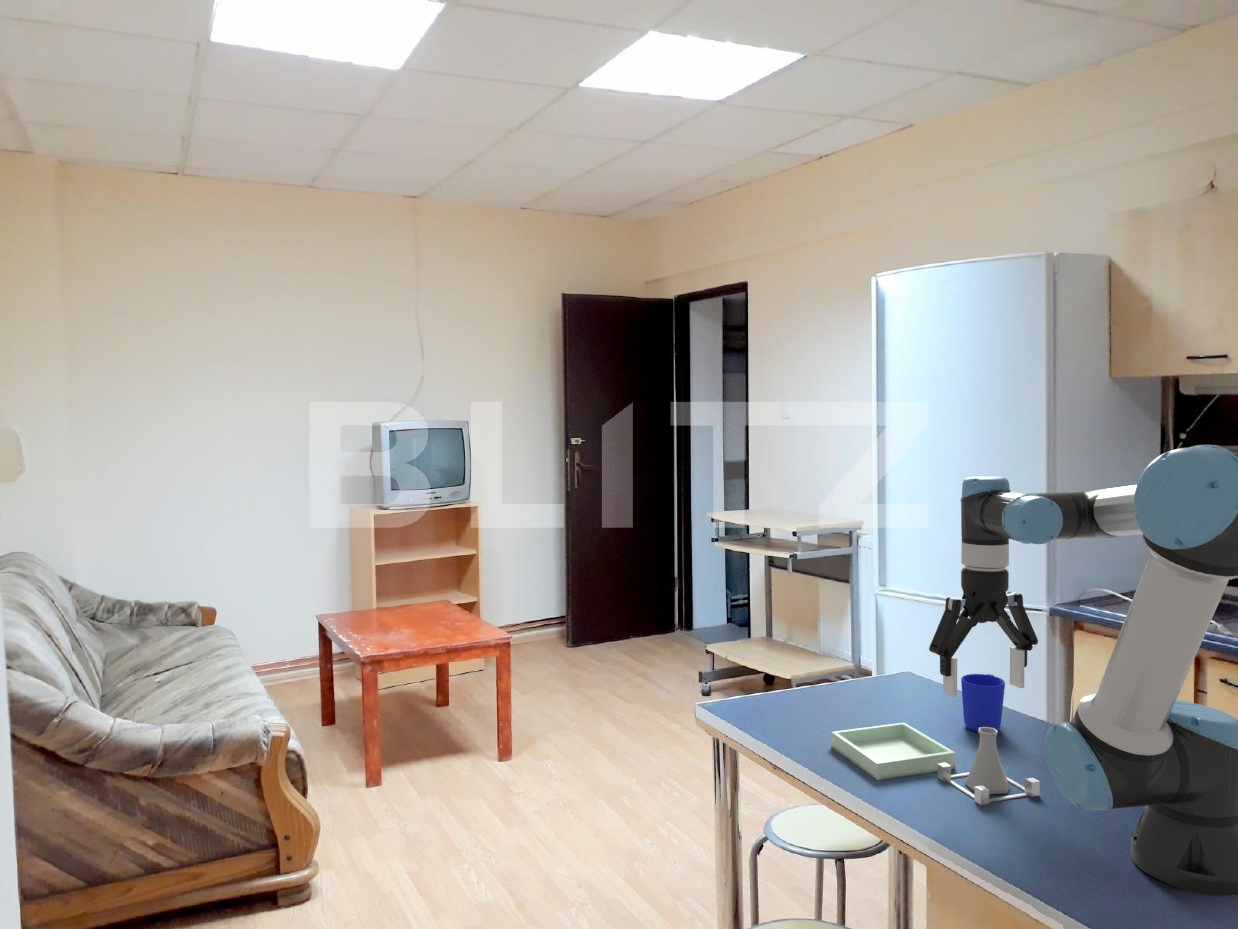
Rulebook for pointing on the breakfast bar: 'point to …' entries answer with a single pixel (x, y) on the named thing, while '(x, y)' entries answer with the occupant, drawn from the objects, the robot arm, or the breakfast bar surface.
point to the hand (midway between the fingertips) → (983, 690)
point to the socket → (982, 792)
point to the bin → (891, 750)
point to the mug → (982, 700)
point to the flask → (988, 765)
